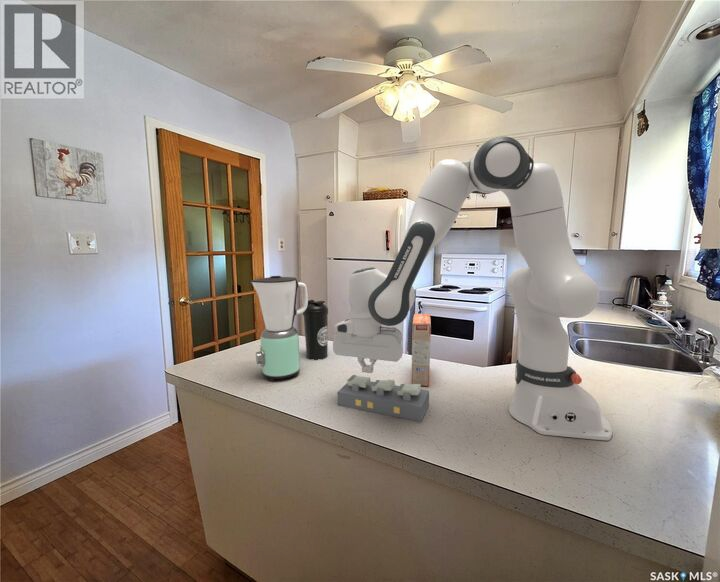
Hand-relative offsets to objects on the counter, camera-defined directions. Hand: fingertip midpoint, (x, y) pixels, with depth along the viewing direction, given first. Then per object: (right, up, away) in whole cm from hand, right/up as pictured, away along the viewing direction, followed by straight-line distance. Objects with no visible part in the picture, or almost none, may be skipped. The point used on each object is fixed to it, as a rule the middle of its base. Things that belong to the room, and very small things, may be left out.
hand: (367, 372), depth 94 cm
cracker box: (+19, -6, +17) cm, 26 cm away
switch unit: (+4, -9, -1) cm, 10 cm away
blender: (-29, -6, +22) cm, 37 cm away
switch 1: (-3, -3, +1) cm, 4 cm away
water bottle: (-20, -4, +39) cm, 44 cm away
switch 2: (+4, -3, -2) cm, 6 cm away
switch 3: (+11, -4, -5) cm, 13 cm away
